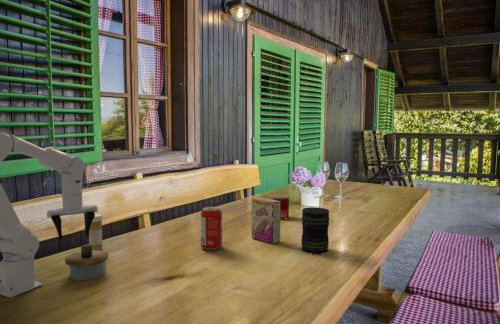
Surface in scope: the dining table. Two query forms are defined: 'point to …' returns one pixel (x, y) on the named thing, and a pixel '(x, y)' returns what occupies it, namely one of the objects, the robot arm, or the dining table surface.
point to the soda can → (211, 228)
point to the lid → (86, 257)
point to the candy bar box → (266, 220)
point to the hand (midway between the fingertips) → (73, 237)
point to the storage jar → (315, 230)
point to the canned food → (283, 205)
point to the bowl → (87, 271)
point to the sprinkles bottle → (96, 233)
